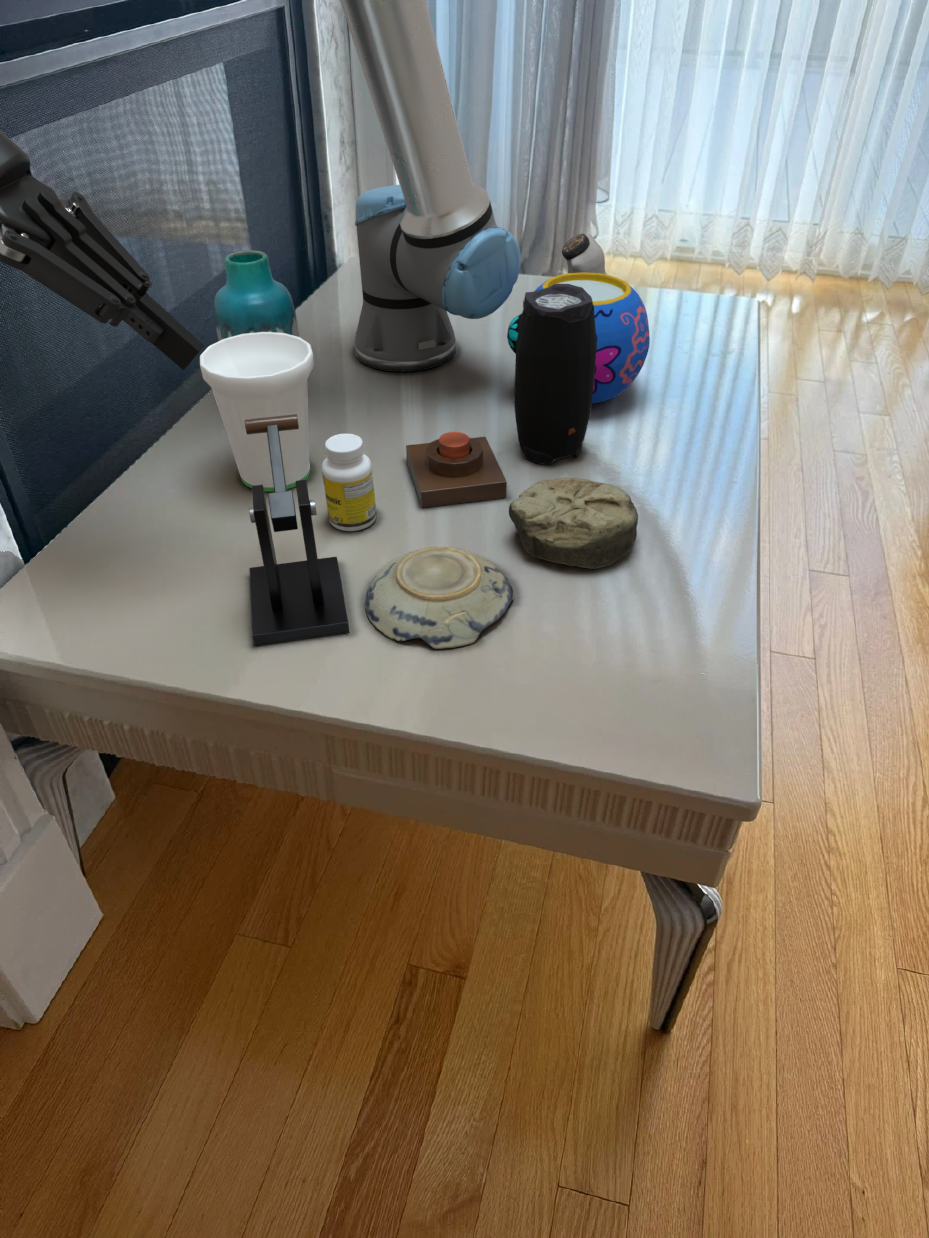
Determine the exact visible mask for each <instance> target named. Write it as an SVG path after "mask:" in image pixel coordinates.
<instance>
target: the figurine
mask: <svg viewBox="0 0 929 1238" xmlns="http://www.w3.org/2000/svg"><path fill="white" fill-rule="evenodd" d="M561 254H562V256H563V258H564V259H565V261H566V264H567V274H568V273H581V272H586V273H600V274H606V275H608V274H607V272H606V258H605V253H604V250H603V248H602V247H601V245H600V244H599V243H598V242H597V241H596V239H595V237H594V236H593V235H592V234H591V233H585V234H584V233H578V234H576V235H574V236H572V237H571V238H570V239H569V240H567V241H566V242H565V244H564V245H563V246H562V249H561Z"/></svg>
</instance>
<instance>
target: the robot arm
mask: <svg viewBox="0 0 929 1238" xmlns="http://www.w3.org/2000/svg"><path fill="white" fill-rule="evenodd" d="M339 1H340V5H341V8H342V10H343V13H344V17H345V20H346V23H347V26H348V29H349V32H350V35H351V39H352V41H353V44H354V48H355V50H356V53H357V56H358V60H359V63H360V66H361V69H362V73H363V75H364V78H365V81H366V84H367V88H368V91H369V94H370V97H371V101H372V104H373V106H374V109H375V112H376V116H377V118H378V122H379V125H380V129H381V132H382V134H383V138H384V141H385V143H386V146H387V150H388V153H389V156H390V158H391V162H392V165H393V168H394V171H395V174H396V177H397V180H398V183H399V184H394V185H393V184H392V185H387V186H382V187H377V188H373V189H369V190H367V191H364V192H363V193H361V194H360V195H359V196H357V199H356V201H355V222H354V223H355V224H354V226H355V227H356V235H357V248H358V258H359V259H358V260H359V269H360V280H361V281H360V282H361V291H362V306H361V310H360V314H359V318H358V323H357V327H356V331H355V335H354V354H355V358H357V360H358V361H359V362H361V364H364V365H365V366H367V367H370V368H373V369H375V370H376V369H377V370H380V371H386V372H399V373H401V372H402V373H403V372H405V373H406V372H407V373H408V372H418V371H424V370H428V369H432V368H436V367H438V366H441V365H443V364H445V363H446V362H448V361H449V360H451V359H452V358H453V357H454V355H455V354H456V352H457V338H456V335H455V331H454V328H453V325H452V322H451V320H450V316H449V314H450V315H453V316H459V317H462V318H465V319H468V320H478V319H479V320H480V319H483V318H486V317H488V316H490V315H492V314H493V313H495V312H496V311H498V309H500V308H501V307H502V306H503V304H504V303H506V301H507V300H508V298H509V297H510V296H511V294H512V292H513V288H514V286H515V284H516V283H517V282H518V278H519V275H520V270H521V263H522V262H521V261H522V258H521V257H522V255H521V249H520V246H519V245H520V244H519V243H518V241H517V239H516V237H515V236H514V235H513V233H511V232H510V231H508V229H506V228H504V227H502V226H498V225H497V223H496V220H495V215H494V211H493V207H492V202H491V199H490V195H489V193H488V191H487V190H486V189H484V188H483V187H482V186H480V185H478V184H475V183H474V182H473V179H472V174H471V171H470V166H469V162H468V159H467V155H466V152H465V147H464V142H463V139H462V135H461V132H460V128H459V123H458V120H457V116H456V112H455V108H454V105H453V101H452V97H451V93H450V89H449V86H448V82H447V78H446V75H445V71H444V67H443V62H442V58H441V55H440V50H439V47H438V44H437V43H438V42H437V39H436V36H435V32H434V28H433V23H432V20H431V16H430V12H429V8H428V4H427V0H339ZM31 163H32V162H31V158H30V156H29V155H28V153H26V152H25V150H24V149H23V148H21V147H20V146H19V145H18V144H17V143H16V142H14V141H13V140H12V139H11V138H10V137H9V136H7V134H5V133H4V132H3V131H2V130H1V129H0V263H1V264H4V265H6V266H9V267H11V268H13V269H16V270H17V271H18V270H19V271H21V272H23V273H24V274H26V275H27V276H28V277H30V278H32V279H33V280H35V281H36V282H38V283H40V284H41V285H43V286H44V287H45V288H47V289H48V290H50V291H52V292H53V293H54V294H56V295H58V296H59V297H61V298H62V299H64V300H65V301H67V302H69V304H71V305H73V306H75V307H76V308H78V309H79V310H81V311H82V312H84V313H85V314H87V315H88V316H90V317H91V318H93V319H95V320H96V321H98V322H99V323H101V324H105V325H106V324H107V323H108V322H109V321H110V322H109V325H110V326H112V327H118V326H119V325H120V324H121V322H122V321H123V322H124V323H125V324H127V325H128V326H129V327H130V328H131V329H132V330H134V331H135V332H136V333H137V334H138V335H139V336H141V337H142V338H143V339H144V340H145V341H146V342H148V343H150V344H151V345H153V346H154V347H155V348H156V349H158V350H159V351H160V352H161V353H162V354H164V355H165V356H166V357H167V358H168V359H169V360H170V361H172V362H173V363H174V364H175V365H177V366H178V367H179V368H180V369H181V370H182V371H185V370H186V369H187V368H188V367H189V365H190V364H191V363H192V362H193V361H194V360H195V358H196V357H197V356H198V355H199V354H200V352H201V351H202V350H203V348H205V346H206V345H205V344H204V343H203V342H202V341H201V340H200V339H198V337H196V336H195V335H194V334H193V333H192V332H191V331H189V330H188V329H187V328H186V327H185V326H184V325H182V324H181V322H179V321H178V320H177V319H175V317H174V316H173V315H172V314H171V313H170V312H169V311H167V310H166V309H165V308H164V307H163V306H162V305H161V304H160V303H158V301H156V300H155V299H154V298H153V297H152V296H150V294H149V293H148V292H149V290H150V289H151V288H152V287H153V283H152V281H151V280H150V279H151V278H150V275H149V274H148V272H146V270H145V269H144V268H143V267H142V266H141V265H140V264H139V262H138V261H137V260H136V259H135V258H134V257H133V256H132V255H131V254H130V252H129V251H128V250H127V249H126V248H125V246H123V245H122V243H121V242H120V241H119V240H118V239H117V237H115V236H114V234H113V233H112V232H111V231H110V230H109V229H108V227H106V225H105V224H104V223H103V222H102V221H101V220H100V218H98V216H97V215H96V214H95V213H94V212H93V210H92V208H91V206H90V204H89V202H88V201H87V200H86V198H85V197H84V195H82V194H81V193H80V192H78V191H72V193H71V195H70V196H69V197H66V196H65V197H64V196H61V195H57V192H55V190H54V189H52V188H51V186H49V185H47V184H45V183H43V182H41V181H40V180H38V179H37V178H36V177H34V175H33V174H32V171H31V165H32V164H31ZM448 313H449V314H448Z"/></svg>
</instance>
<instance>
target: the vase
mask: <svg viewBox="0 0 929 1238" xmlns="http://www.w3.org/2000/svg"><path fill="white" fill-rule="evenodd" d="M269 261H270V260H269V257H268V255H267V254H266V253H265V252H264V251H261V250H255V249H251V250H250V249H246V250H245V249H244V250H238V251H234V252H231V253H228V254H227V255H226V256H225V257H224V268H225V279H226V281H225V284H224V286H222V287H220V288H219V290H217V292H216V294H215V296H214V301H213V303H214V304H213V313H214V315H213V316H214V323H215V330H216V335H217V342H219V341H221V340H223V339H226V338H229V337H233V336H237V335H241V334H247V333H258V332H275V333H285V334H289V335H293V336H297V337H300V330H299V324H298V319H297V313H296V307H295V305H294V301H293V298H292V295H291V293H290V291H289V289H288V288H287V287H286V285H284V284H283V283H282V282H279V281H277V280H275V279H274V277H273V275H272V271H271V265H270V262H269Z"/></svg>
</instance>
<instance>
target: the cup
mask: <svg viewBox="0 0 929 1238" xmlns="http://www.w3.org/2000/svg"><path fill="white" fill-rule="evenodd" d="M313 353H314V352H313V349H312V345H311V344H310V343H309V342H308V341H306V340H305V339H303V338H302V337H300V336H299V337H297V336H293V335H289V334H285V333H275V332H258V333H247V334H241V335H237V336H233V337H229V338H226V339H223V340H221V341H219V342H218V341H217V342H215V343H212V344H210V345H209V346H207V347H206V348H205V350H204V351H203V352H202V353H200V356H199V368H200V371H201V375H202V379H203V381H204V382H205V383H206V384H207V385H208V386H209V387H210V388H211V392H212V394H213V397H214V400H215V403H216V406H217V409H218V413H219V415H220V419H221V421H222V424H223V428H224V431H225V434H226V437H227V439H228V443H229V447H230V449H231V451H232V455H233V458H234V462H235V464H236V467H237V470H238V474H239V475H240V479H241V482H242V483H243V484H244V485H245V486H246V487H247V488H250V489H252V486H255V485H263V489H264V493H265V492H267V493H274V485H273V477H272V469H271V461H270V453H269V445H268V437H267V433H258V434H249V435H247V433H246V428H245V419H254V418H264V417H273V416H283V415H292V414H297V418H298V425H299V429H295V430H286V431H279V436H280V444H281V452H282V459H283V467H284V474H285V482H286V490H287V491H288V490H290V489H293V488H296V481H299V480H306V481H307V480H308V479H309V477H310V474H311V472H312V471H311V463H310V440H309V439H310V437H309V433H310V432H309V382H308V381H309V379H308V378H309V376H310V374H311V372H312V370H313V368H314V367H315V364H314V354H313Z"/></svg>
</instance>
